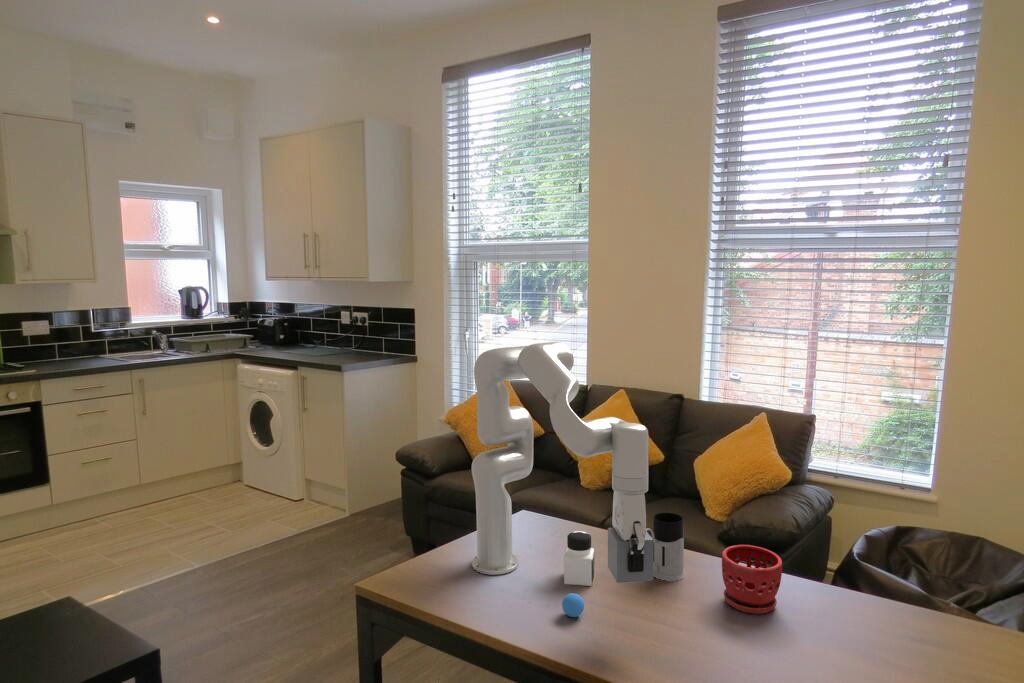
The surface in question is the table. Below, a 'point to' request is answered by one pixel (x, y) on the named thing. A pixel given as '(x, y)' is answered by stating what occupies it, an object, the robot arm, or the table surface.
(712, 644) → the table surface
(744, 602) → the plant pot
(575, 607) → the ball
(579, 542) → the medicine bottle
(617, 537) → the gray cube
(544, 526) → the table surface
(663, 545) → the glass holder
